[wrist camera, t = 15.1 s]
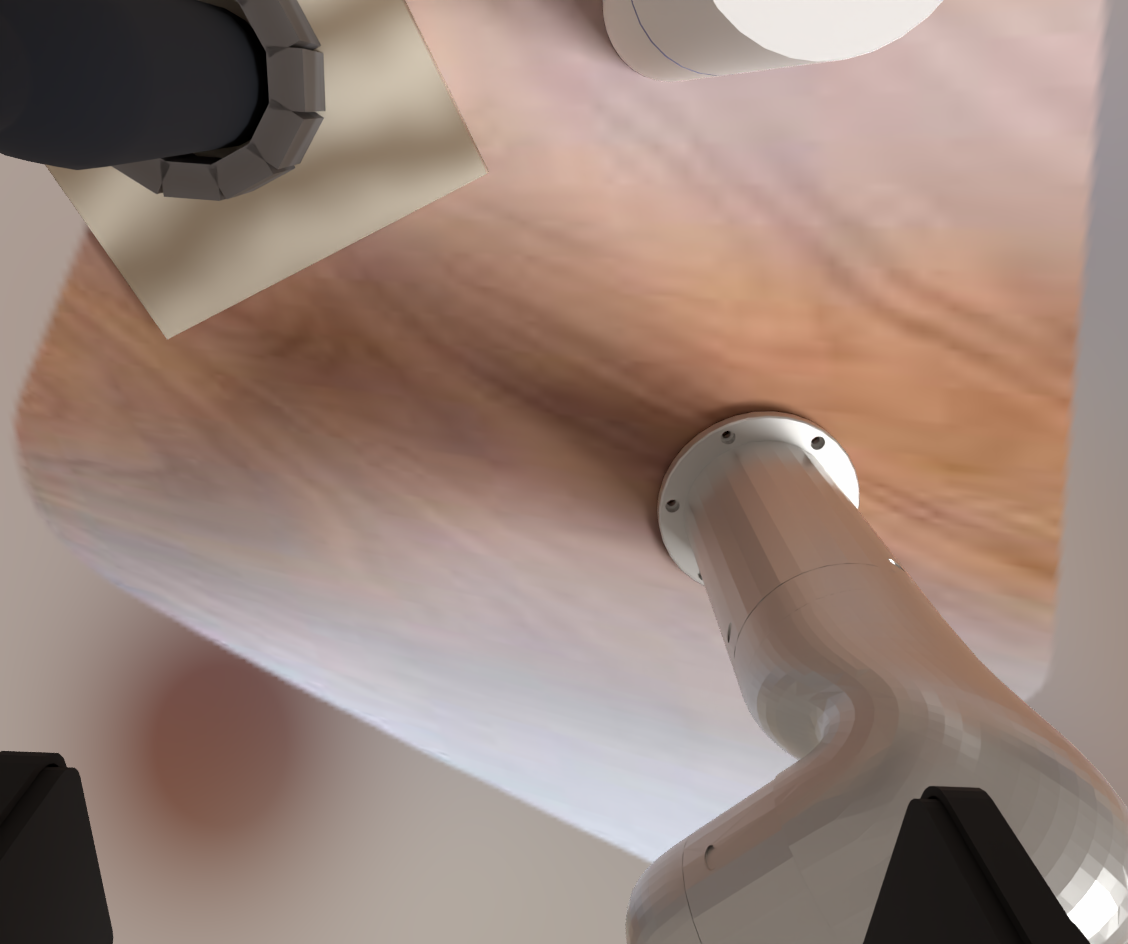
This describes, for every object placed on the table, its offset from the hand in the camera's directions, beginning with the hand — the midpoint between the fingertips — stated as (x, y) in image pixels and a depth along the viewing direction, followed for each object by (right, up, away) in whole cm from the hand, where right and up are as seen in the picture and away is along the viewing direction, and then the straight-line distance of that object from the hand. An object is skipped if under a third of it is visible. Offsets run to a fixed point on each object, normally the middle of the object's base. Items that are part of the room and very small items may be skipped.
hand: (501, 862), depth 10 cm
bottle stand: (-17, +25, +33) cm, 44 cm away
